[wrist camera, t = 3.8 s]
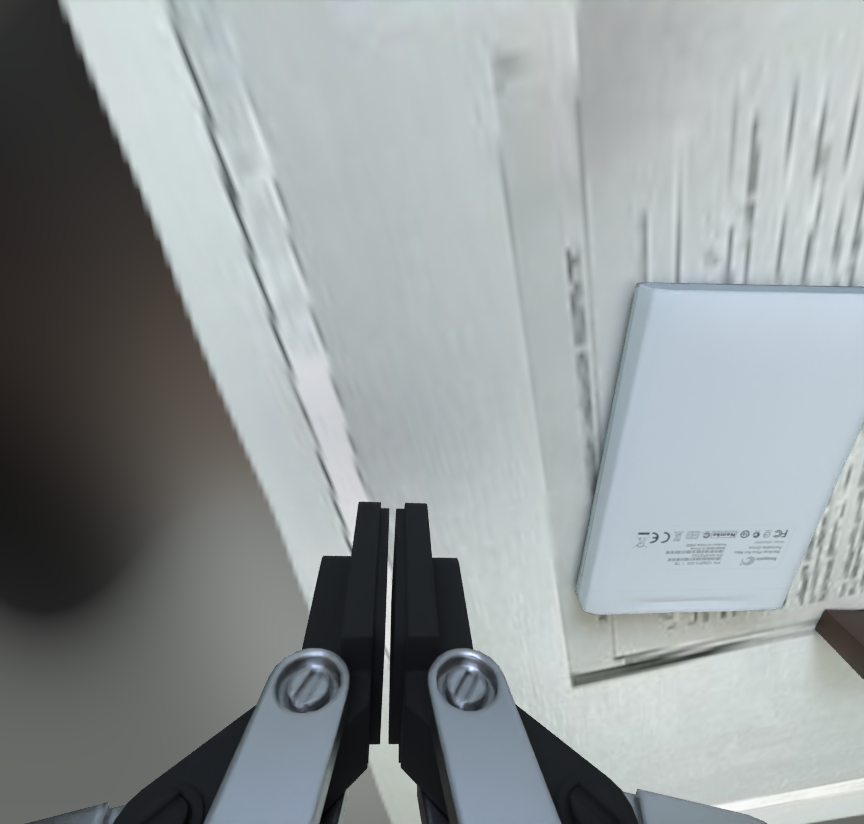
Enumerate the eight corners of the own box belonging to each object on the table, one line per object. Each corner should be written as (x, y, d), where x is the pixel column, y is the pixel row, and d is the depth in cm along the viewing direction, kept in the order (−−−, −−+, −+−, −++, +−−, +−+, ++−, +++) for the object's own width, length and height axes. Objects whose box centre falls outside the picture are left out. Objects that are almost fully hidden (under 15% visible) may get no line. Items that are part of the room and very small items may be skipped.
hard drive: (876, 286, 16) (760, 583, 21) (630, 280, 15) (572, 587, 20) (927, 294, 14) (788, 613, 19) (656, 289, 13) (586, 618, 18)
